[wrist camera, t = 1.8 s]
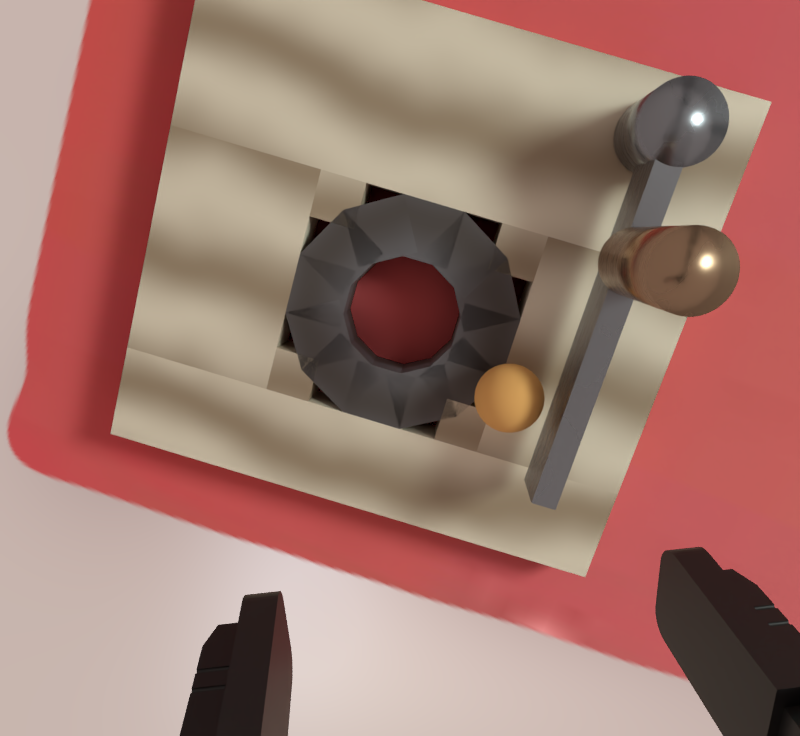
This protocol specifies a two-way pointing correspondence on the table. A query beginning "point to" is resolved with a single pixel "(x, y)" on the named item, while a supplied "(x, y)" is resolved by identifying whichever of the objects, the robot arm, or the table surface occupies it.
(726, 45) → the table surface
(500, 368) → the ball
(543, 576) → the table surface
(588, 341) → the catapult lever
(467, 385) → the board
